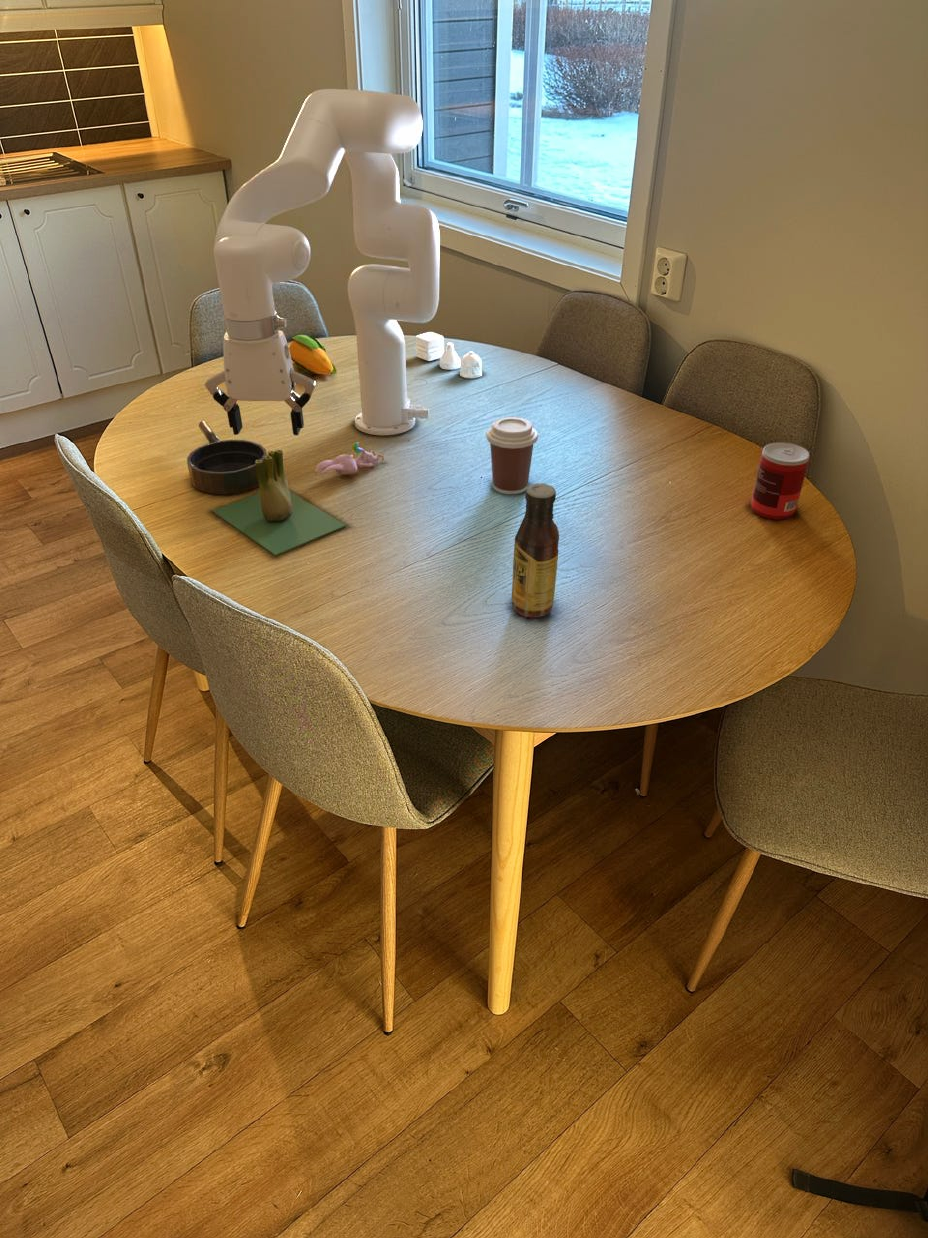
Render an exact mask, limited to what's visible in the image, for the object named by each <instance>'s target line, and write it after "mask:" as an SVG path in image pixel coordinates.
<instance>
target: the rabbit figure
mask: <svg viewBox="0 0 928 1238" xmlns="http://www.w3.org/2000/svg"><path fill="white" fill-rule="evenodd" d="M359 444H360V442H358V441H357V442H354V443H353V444H352V445H351V450H352V452H353V453H354V454H358V455H359V456H358V458H354V454H350V455H349V454H340V455H337V456H335V457H334V458H333V459H326V460H323V461H321V462H318V464H317V466H316V467H315V470H314V472H316V473H318V472H319V471H321V472H320V475H324V474H326V473H328V472H331V471H335V472H336V473H338V474H339V475H345V476H347V475H348V476H350V475H354V474H356V473H357V472H358V468H363V467H372V468H373V467H376V466H378V464H379V462H380V459H381V461H382V463H384V462H386V461H385V453H383V454H381V453H380V454H378V455H377V454H376V450H374V451H373V450H370V451H366V450H365V449H363V448H362V447H360V446H359Z"/></svg>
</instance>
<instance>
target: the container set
mask: <svg viewBox="0 0 928 1238" xmlns="http://www.w3.org/2000/svg"><path fill="white" fill-rule="evenodd" d="M414 339H415V340H414V342H415V343H414V344H415V345H414V346H415V347H414V348H415V356H416V357H417V358H420V359H422V360H425V361H427V362H431V361H434V360H438V359H439V367H440V368H441V369H443V370H449V371H450V370H451V371H452V370H457V369H460V371H459V376H460V377H461V378H465V379H478V378H480V377H482V376H483V371H482V366H483V365H482V359H481V357H480V355H478V354H477V353H474V351H468V353H466V354H464V355H463V356H462V358H460V357H459V355H458V353H457V352H456V351H455V348H454V347H455V345H454V343H453V342H447V343H446V344H445V337H444V336H443V335H442V334H439V333H436V332H433V331H427V332H424V333H420V334H417V335H416V336H415V338H414Z"/></svg>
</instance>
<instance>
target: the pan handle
mask: <svg viewBox="0 0 928 1238" xmlns="http://www.w3.org/2000/svg"><path fill="white" fill-rule="evenodd" d="M198 428H199V430H200V431H201V433H202V434H203V435H204V437H205V438H206V440H207V441H208V444H209V443H213V442H217V441H221V440H220V439H219V438H218V436H217V435H216V433H215V431H213V429H212V428H211V427H210V425H209V424H208V422H206V421H204V420H202V421H199V423H198Z"/></svg>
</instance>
